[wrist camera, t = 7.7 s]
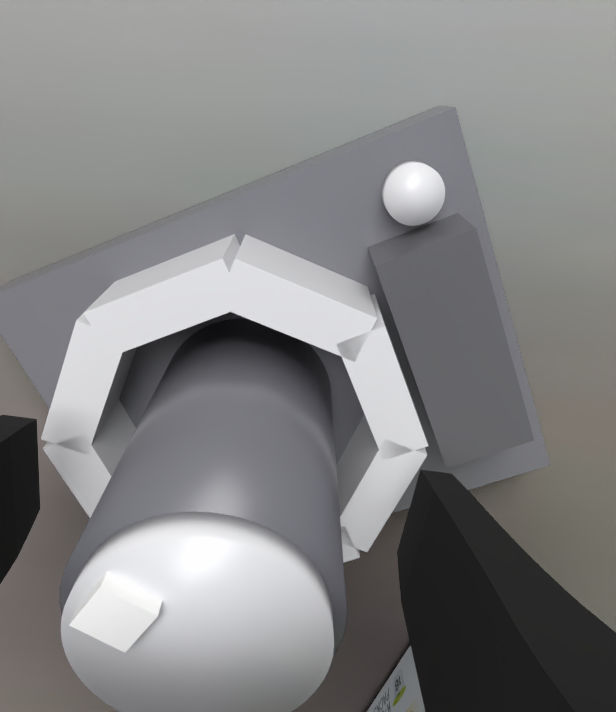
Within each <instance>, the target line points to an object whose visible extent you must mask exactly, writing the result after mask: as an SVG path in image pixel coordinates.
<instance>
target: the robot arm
mask: <svg viewBox="0 0 616 712" xmlns="http://www.w3.org/2000/svg"><path fill="white" fill-rule="evenodd" d="M39 510H40V495H39V470H38V444H37V419H30V418H23V417H15V416H7V415H1V416H0V584H1V582H2V581H3V579H4V577H5V576H6V574H7V573H8V571H9V570H10V568H11V566H12V565H13V563H14V562H15V560H16V558H17V557H18V555H19V553H20V550H21V548H22V546H23V544H24V542H25V540H26V538H27V536H28V534H29V532H30V530H31V528H32V525H33V523H34V521H35V519H36V517H37V514H38V512H39ZM397 554H398V568H399V581H400V591H401V601H402V606H403V611H404V616H405V621H406V626H407V630H408V635H409V640H410V644H411V649H412V653H413V658H414V663H415V667H416V672H417V676H418V681H419V685H420V690H421V694H422V699H423V703H424V708H425V712H616V633H615V632H614V631H613V630H612V629H611V628H609V627H608V626H607V625H606V624H604V623H603V622H602V621H601V620H600V619H598V618H597V617H596V616H595V615H594V614H592V613H591V612H590V611H589V610H587V609H586V608H585V607H584V606H583V605H581V604H580V603H579V602H578V601H577V600H576V599H575V598H574V597H572V596H571V595H570V594H569V593H568V592H567V591H566V590H565V589H563V588H562V587H561V586H560V585H559V584H558V583H557V582H556V581H555V580H554V579H553V578H552V577H551V576H550V575H549V574H548V573H547V572H545V571H544V570H543V569H542V568H541V567H540V566H539V565H538V564H537V563H536V562H535V561H534V560H533V559H532V558H531V557H530V556H529V555H528V554H527V553H526V552H525V551H524V550H523V549H522V548H521V547H520V546H519V545H518V544H517V543H516V542H515V541H514V540H513V539H512V538H511V537H510V535H509V534H508V533H507V532H506V531H505V530H504V529H503V528H502V527H501V526H500V525H499V524H498V523H497V522H496V521H495V519H494V518H493V517H492V516H491V515H490V514H489V513H488V512H487V511H486V510H485V509H484V507H483V506H482V505H481V504H480V503H479V502H478V501H477V500H476V499H475V498H474V496H473V495H472V494H471V493H470V492H469V491H468V490H467V489H466V488H465V487H464V486H463V485H462V484H461V482H460V481H459V480H458V479H457V478H456V477H455V476H454V475H453V474H451V473H444V472H436V471H428V470H421V469H420V473H419V476H418V480H417V483H416V487H415V491H414V494H413V498H412V501H411V505H410V509H409V512H408V516H407V519H406V523H405V526H404V530H403V534H402V537H401V541H400V544H399V548H398V552H397Z"/></svg>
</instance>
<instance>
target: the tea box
mask: <svg viewBox="0 0 616 712" xmlns="http://www.w3.org/2000/svg"><path fill="white" fill-rule="evenodd" d="M367 712H425V708H424V703H423V699H422V694H421V690H420V685H419V681H418V676H417V672H416V667H415V663H414V658H413V653H412V649H411V645H410V647H409V648H408V650H407V651H406V653H405V654H404V656H403V657H402V659H401V660H400V662H399V663H398V665H397V666H396V668H395V670H394V671H393V673H392V674H391V676H390V677H389V679H388V680H387V682H386V683H385V685H384V686H383V688H382V689H381V691H380V692H379V694H378V695H377V697H376V699H375V700H374V701H373V703H372V704H371V706H370V707H369V709H368V710H367Z"/></svg>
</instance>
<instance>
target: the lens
mask: <svg viewBox="0 0 616 712" xmlns="http://www.w3.org/2000/svg"><path fill="white" fill-rule="evenodd" d="M60 605H61V612H62V618H61V638H62V644H63V648H64V651H65V654H66V657H67V659H68V661H69V663H70V665H71V667H72V669H73V670H74V672H75V673H76V674H77V676H78V677H79V679H80V680H81V681H82V682H83V683H84V684H85V685H86V686H87V688H88V689H89V690H90V691H91V692H92V693H94V694H95V695H96V696H97V697H99V698H100V699H101V700H102V701H104V702H105V703H107V704H108V705H110V706H111V707H113V708H114V709H116V710H118V711H120V712H291V711H293V710H295V709H296V708H298V707H299V706H300V705H301V704H303V703H304V702H305V701H307V700H308V699H309V698H310V697H311V696H312V694H313V693H314V692H315V691H316V690H317V689H318V687H319V686H320V685H321V683H322V682H323V681H324V679H325V677H326V675H327V673H328V671H329V668H330V665H331V662H332V658H333V655H334V654H335V653H336V651H337V649H338V647H339V645H340V643H341V641H342V637H343V634H344V631H345V627H346V619H347V606H346V591H345V578H344V564H343V551H342V537H341V524H340V510H339V497H338V483H337V470H336V456H335V443H334V429H333V416H332V402H331V389H330V382H329V377H328V374H327V372H326V369H325V366H324V365H323V363H322V361H321V359H320V357H319V356H318V355H317V353H316V352H315V351H314V349H313V348H312V347H311V346H310V345H309V344H308V343H307V342H304V341H302V340H299V339H297V338H294V337H292V336H289V335H287V334H284V333H282V332H279V331H277V330H274V329H272V328H269V327H267V326H265V325H262V324H260V323H257V322H255V321H252V320H250V319H247V318H237V319H228V320H223V321H219V322H216V323H213V324H210V325H208V326H206V327H204V328H202V329H200V330H199V331H197V332H196V333H194V334H193V335H191V336H190V337H189V338H188V339H187V340H185V341H184V342H183V343H182V345H181V346H180V347H179V348H178V349H177V351H176V352H175V354H174V356H173V357H172V359H171V361H170V363H169V365H168V367H167V369H166V371H165V373H164V375H163V377H162V378H161V380H160V382H159V384H158V386H157V388H156V390H155V392H154V394H153V396H152V398H151V400H150V402H149V404H148V406H147V408H146V410H145V412H144V414H143V416H142V418H141V420H140V422H139V424H138V426H137V428H136V429H135V431H134V433H133V435H132V437H131V439H130V441H129V443H128V445H127V447H126V449H125V451H124V453H123V455H122V457H121V459H120V461H119V463H118V465H117V467H116V469H115V471H114V473H113V475H112V477H111V479H110V480H109V482H108V484H107V486H106V488H105V490H104V492H103V494H102V496H101V498H100V500H99V502H98V504H97V506H96V508H95V510H94V512H93V514H92V516H91V518H90V520H89V522H88V524H87V526H86V528H85V530H84V532H83V533H82V535H81V537H80V539H79V541H78V543H77V545H76V547H75V549H74V551H73V553H72V555H71V557H70V559H69V561H68V563H67V566H66V568H65V571H64V573H63V577H62V582H61V587H60Z"/></svg>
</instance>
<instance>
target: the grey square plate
mask: <svg viewBox="0 0 616 712" xmlns="http://www.w3.org/2000/svg"><path fill="white" fill-rule="evenodd" d="M237 318H247V319H250V320H252V321H255V322H257V323H260V324H262V325H265V326H267V327H269V328H272V329H274V330H277V331H279V332H282V333H284V334H287V335H289V336H292V337H294V338H297V339H299V340H302V341H304V342H307V343H308V344H309V345H310V346H311V347H312V348H313V349H314V351H315V352H316V353H317V355H318V356H319V357H320V359H321V361H322V363H323V365H324V366H325V369H326V372H327V374H328V377H329V382H330V389H331V402H332V416H333V429H334V443H335V456H336V470H337V483H338V497H339V510H340V524H341V537H342V551H343V563H344V562H347V561H350V560H354V559H357V558H360V554H359V550H362V551H365V552H368V550H369V549H370V547H371V546H372V544H373V542H374V541H375V539H376V537H377V536H378V534H379V533H380V531H381V529H382V528H383V526H384V524H385V523H386V521H387V520H388V518H389V516H390V515H391V514H392V513H395V512H399V511H402V510H405V509H408V508H410V505H411V501H412V498H413V494H414V491H415V487H416V483H417V480H418V476H419V473H420V469H421V470H428V471H436V472H444V473H451V474H453V475H454V476H455V477H456V478H457V479H458V480H459V481H460V482H461V484H462V485H463V486H464V487H465V488H466V489H467V490H470V489H474V488H477V487H480V486H483V485H487V484H490V483H493V482H497V481H500V480H503V479H506V478H510V477H513V476H516V475H519V474H523V473H526V472H529V471H532V470H536V469H539V468H542V467H546V466H549V465H550V462H549V458H548V454H547V451H546V447H545V443H544V439H543V435H542V432H541V428H540V424H539V420H538V417H537V413H536V409H535V405H534V402H533V398H532V394H531V390H530V387H529V383H528V379H527V375H526V372H525V368H524V364H523V360H522V356H521V353H520V349H519V345H518V341H517V338H516V334H515V330H514V326H513V323H512V319H511V315H510V311H509V308H508V304H507V300H506V296H505V293H504V289H503V285H502V281H501V277H500V274H499V270H498V266H497V262H496V259H495V255H494V251H493V247H492V244H491V240H490V236H489V232H488V229H487V225H486V221H485V217H484V214H483V210H482V206H481V202H480V199H479V195H478V191H477V187H476V183H475V180H474V176H473V172H472V168H471V165H470V161H469V157H468V153H467V150H466V146H465V142H464V138H463V135H462V131H461V127H460V123H459V120H458V116H457V112H456V108H455V107H448V106H438V107H435V108H433V109H430V110H428V111H425V112H423V113H420V114H418V115H416V116H413V117H411V118H408V119H406V120H403V121H401V122H398V123H396V124H394V125H391V126H389V127H386V128H384V129H381V130H379V131H376V132H374V133H372V134H369V135H367V136H364V137H362V138H359V139H357V140H354V141H352V142H350V143H347V144H345V145H342V146H340V147H337V148H335V149H332V150H330V151H328V152H325V153H323V154H320V155H318V156H315V157H313V158H310V159H308V160H306V161H303V162H301V163H298V164H296V165H293V166H291V167H289V168H286V169H284V170H281V171H279V172H276V173H274V174H271V175H269V176H267V177H264V178H262V179H259V180H257V181H254V182H252V183H249V184H247V185H245V186H242V187H240V188H237V189H235V190H232V191H230V192H227V193H225V194H223V195H220V196H218V197H215V198H213V199H210V200H208V201H205V202H203V203H201V204H198V205H196V206H193V207H191V208H188V209H186V210H183V211H181V212H179V213H176V214H174V215H171V216H169V217H166V218H164V219H161V220H159V221H157V222H154V223H152V224H149V225H147V226H144V227H142V228H139V229H137V230H135V231H132V232H130V233H127V234H125V235H122V236H120V237H118V238H115V239H113V240H110V241H108V242H105V243H103V244H100V245H98V246H96V247H93V248H91V249H88V250H86V251H83V252H81V253H78V254H76V255H74V256H71V257H69V258H66V259H64V260H61V261H59V262H56V263H54V264H52V265H49V266H47V267H44V268H42V269H39V270H37V271H34V272H32V273H30V274H27V275H25V276H22V277H20V278H17V279H15V280H12V281H10V282H9V283H7V284H5V285H4V286H2V287H1V288H0V334H1V335H2V337H3V338H4V340H5V341H6V343H7V344H8V346H9V347H10V349H11V350H12V352H13V354H14V355H15V357H16V358H17V360H18V361H19V363H20V364H21V366H22V367H23V369H24V370H25V372H26V373H27V375H28V377H29V378H30V380H31V381H32V383H33V384H34V386H35V387H36V389H37V390H38V392H39V393H40V395H41V397H42V398H43V400H44V401H45V403H46V404H47V406H48V407H49V409H50V410H49V414H48V417H47V420H46V424H45V427H44V431H43V434H42V437H41V439H42V440H45V441H48V442H47V443H46V445H45V446H44V447H43V450H44V451H45V453H46V454H47V456H48V457H49V459H50V460H51V461H52V463H53V464H54V466H55V467H56V469H57V470H58V472H59V473H60V475H61V476H62V478H63V479H64V481H65V482H66V484H67V485H68V487H69V488H70V490H71V491H72V492H73V494H74V495H75V497H76V498H77V500H78V501H79V503H80V504H81V506H82V507H83V509H84V510H85V512H86V513H87V515H88V516H89V518H91V516H92V514H93V512H94V510H95V508H96V506H97V504H98V502H99V500H100V498H101V496H102V494H103V492H104V490H105V488H106V486H107V484H108V482H109V480H110V479H111V477H112V475H113V473H114V471H115V469H116V467H117V465H118V463H119V461H120V459H121V457H122V455H123V453H124V451H125V449H126V447H127V445H128V443H129V441H130V439H131V437H132V435H133V433H134V431H135V429H136V428H137V426H138V424H139V422H140V420H141V418H142V416H143V414H144V412H145V410H146V408H147V406H148V404H149V402H150V400H151V398H152V396H153V394H154V392H155V390H156V388H157V386H158V384H159V382H160V380H161V378H162V377H163V375H164V373H165V371H166V369H167V367H168V365H169V363H170V361H171V359H172V357H173V356H174V354H175V352H176V351H177V349H178V348H179V347H180V346H181V345H182V343H183V342H184V341H185V340H187V339H188V338H189V337H190V336H191V335H193V334H194V333H196V332H197V331H199V330H200V329H202V328H204V327H206V326H208V325H210V324H213V323H216V322H219V321H223V320H228V319H237Z"/></svg>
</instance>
